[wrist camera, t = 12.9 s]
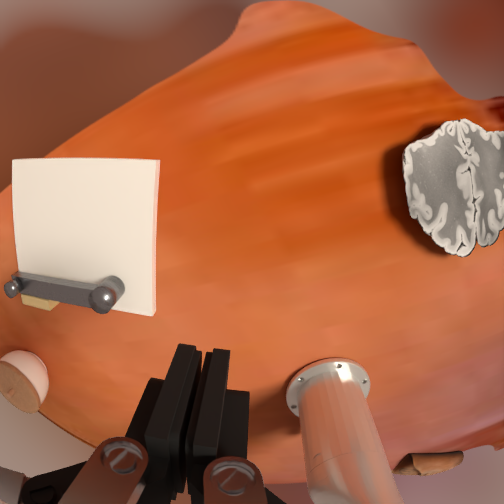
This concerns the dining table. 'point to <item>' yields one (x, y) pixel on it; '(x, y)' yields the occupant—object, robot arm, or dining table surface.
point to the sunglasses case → (428, 463)
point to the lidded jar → (23, 380)
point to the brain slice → (457, 185)
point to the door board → (88, 224)
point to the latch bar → (68, 290)
